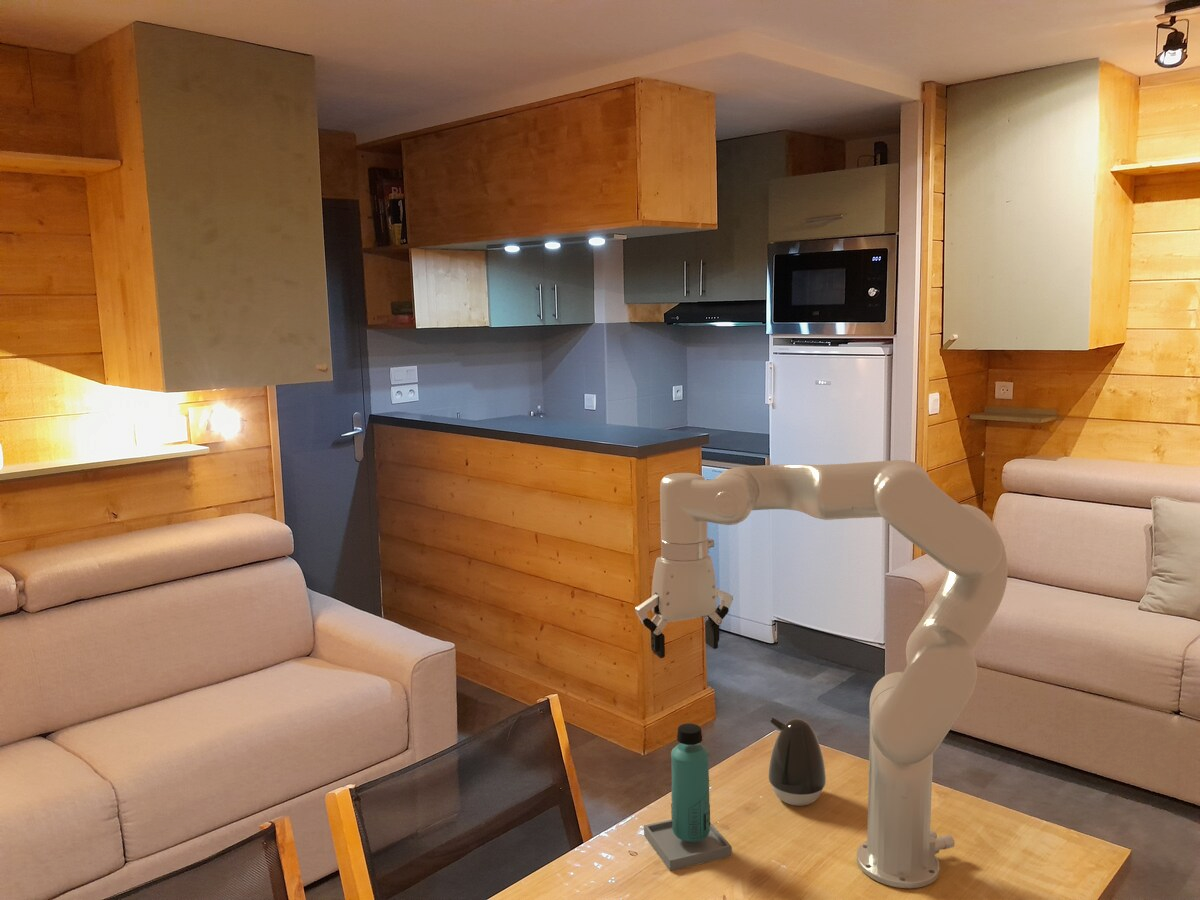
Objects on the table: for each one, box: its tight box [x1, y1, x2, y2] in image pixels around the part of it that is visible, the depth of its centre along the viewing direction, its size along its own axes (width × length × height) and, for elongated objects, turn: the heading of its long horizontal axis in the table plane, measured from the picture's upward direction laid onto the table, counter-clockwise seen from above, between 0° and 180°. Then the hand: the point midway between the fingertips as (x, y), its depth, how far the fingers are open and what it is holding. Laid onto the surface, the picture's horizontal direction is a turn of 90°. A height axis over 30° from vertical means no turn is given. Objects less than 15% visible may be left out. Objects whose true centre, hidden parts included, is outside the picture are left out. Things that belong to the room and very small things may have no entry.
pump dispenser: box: [768, 717, 827, 807], centre depth 169 cm, size 10×10×15 cm
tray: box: [643, 818, 732, 872], centre depth 155 cm, size 11×11×2 cm
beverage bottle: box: [670, 722, 711, 842], centre depth 154 cm, size 6×7×20 cm
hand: (685, 650), depth 153 cm, fingers open, 9 cm apart
